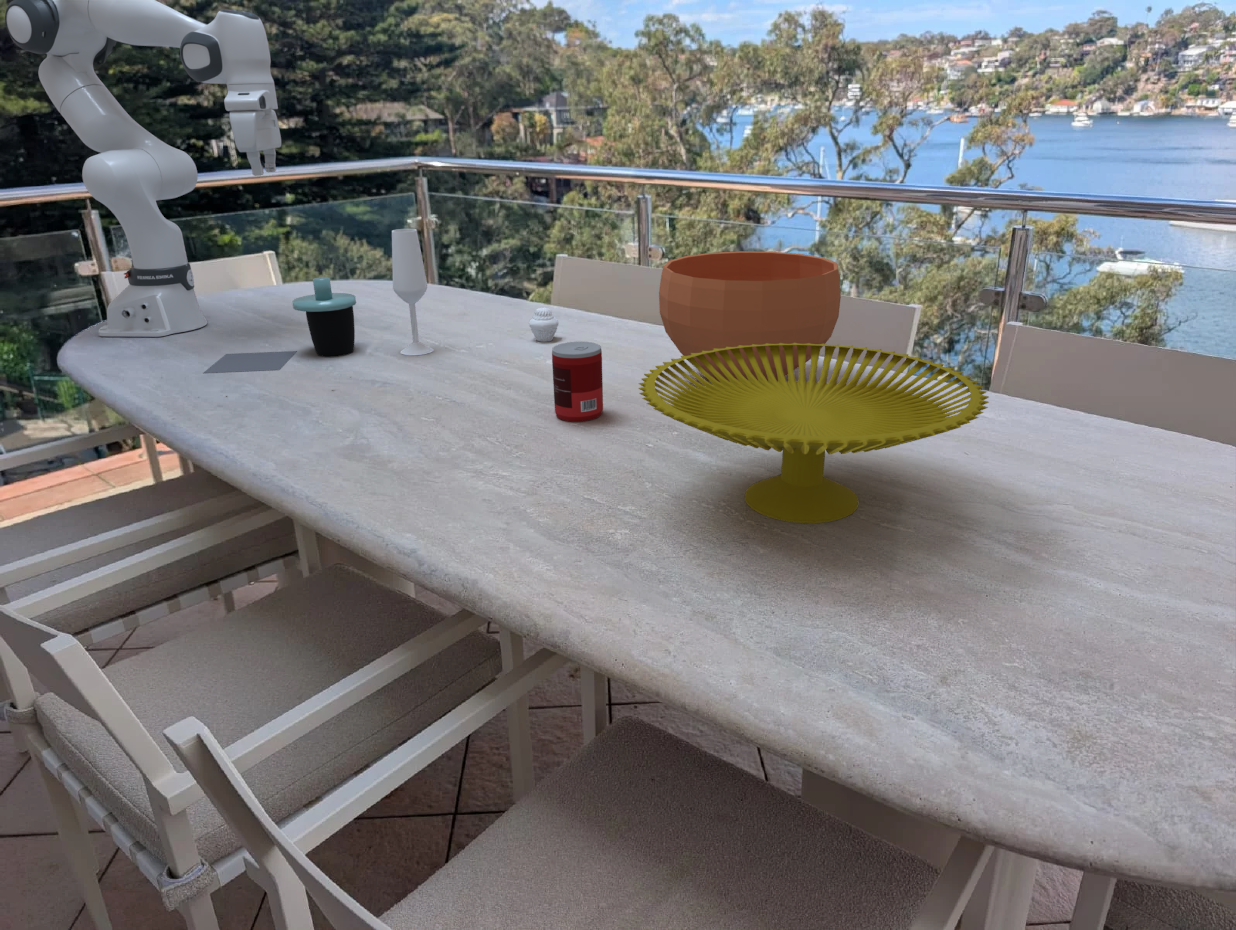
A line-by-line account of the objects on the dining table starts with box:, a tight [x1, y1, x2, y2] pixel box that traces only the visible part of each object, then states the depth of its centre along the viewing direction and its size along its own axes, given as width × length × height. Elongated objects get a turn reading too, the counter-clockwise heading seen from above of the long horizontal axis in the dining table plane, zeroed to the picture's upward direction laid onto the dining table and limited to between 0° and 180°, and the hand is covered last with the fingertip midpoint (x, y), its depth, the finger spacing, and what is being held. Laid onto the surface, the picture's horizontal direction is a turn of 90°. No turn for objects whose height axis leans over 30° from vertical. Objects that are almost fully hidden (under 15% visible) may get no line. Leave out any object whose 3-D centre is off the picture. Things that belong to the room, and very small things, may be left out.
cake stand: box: [638, 343, 990, 524], centre depth 111 cm, size 40×40×15 cm
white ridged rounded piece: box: [528, 306, 559, 343], centre depth 191 cm, size 6×6×7 cm
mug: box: [305, 305, 356, 358], centre depth 182 cm, size 12×9×10 cm
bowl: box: [658, 250, 842, 383], centre depth 156 cm, size 30×30×20 cm
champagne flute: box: [391, 228, 434, 356], centre depth 181 cm, size 7×7×24 cm
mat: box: [203, 350, 298, 374], centre depth 177 cm, size 14×14×1 cm
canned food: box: [551, 341, 604, 423], centre depth 144 cm, size 8×8×11 cm
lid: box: [292, 276, 357, 313], centre depth 179 cm, size 12×12×5 cm
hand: (264, 173), depth 185 cm, fingers open, 8 cm apart
